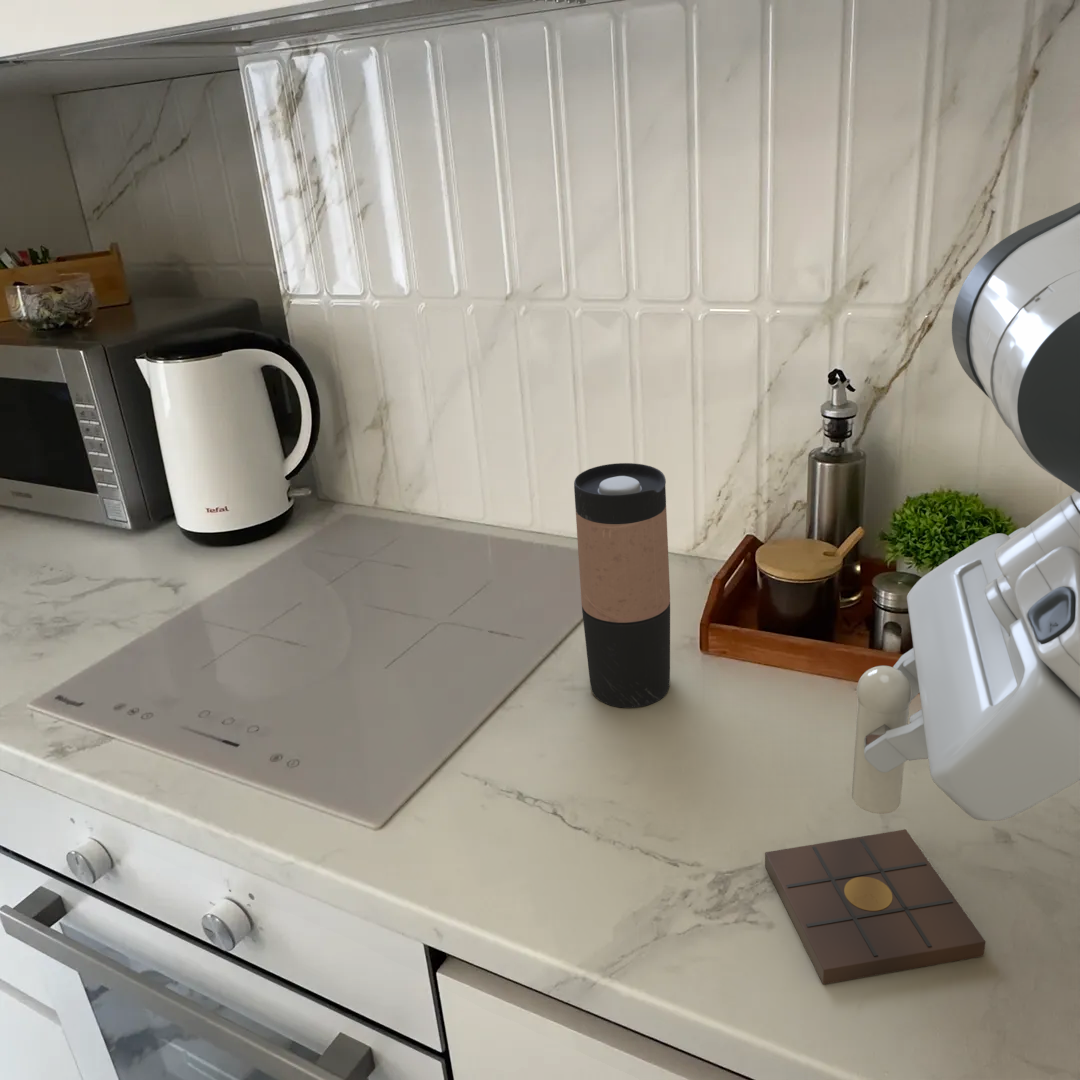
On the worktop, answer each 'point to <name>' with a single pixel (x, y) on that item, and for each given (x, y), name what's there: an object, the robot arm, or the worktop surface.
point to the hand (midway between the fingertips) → (870, 735)
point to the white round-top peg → (878, 704)
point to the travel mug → (624, 581)
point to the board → (871, 907)
